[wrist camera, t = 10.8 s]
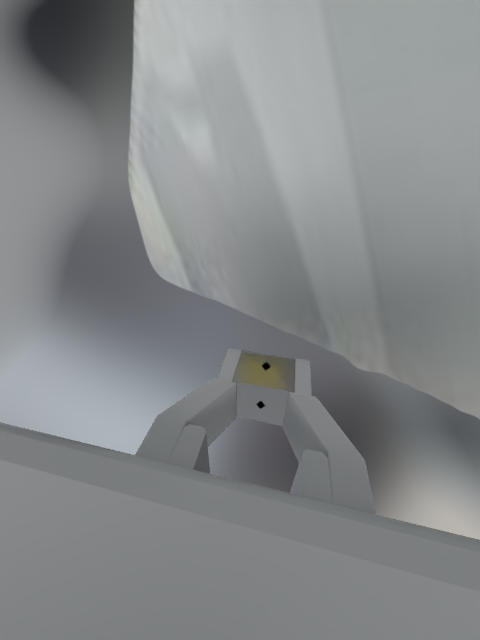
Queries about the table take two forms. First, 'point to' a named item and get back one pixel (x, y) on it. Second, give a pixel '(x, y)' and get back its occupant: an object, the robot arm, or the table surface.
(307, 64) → the table surface
